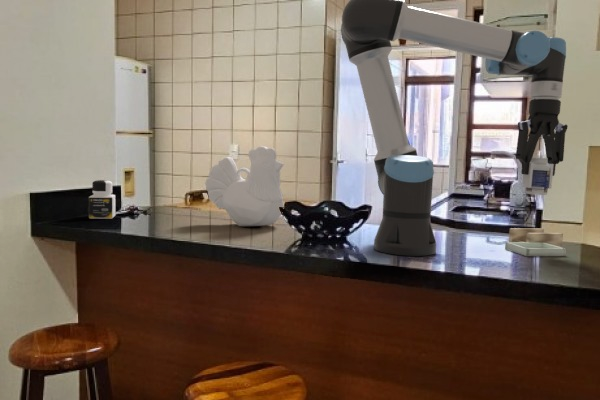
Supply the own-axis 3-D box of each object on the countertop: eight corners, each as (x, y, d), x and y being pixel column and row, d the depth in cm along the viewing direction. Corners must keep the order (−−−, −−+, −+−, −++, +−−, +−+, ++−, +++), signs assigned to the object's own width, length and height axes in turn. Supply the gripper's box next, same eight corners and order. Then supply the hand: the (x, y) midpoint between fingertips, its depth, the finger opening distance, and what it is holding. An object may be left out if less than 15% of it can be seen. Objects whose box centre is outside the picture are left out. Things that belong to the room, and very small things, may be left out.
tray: (525, 256, 129) (526, 248, 129) (504, 249, 138) (505, 242, 137) (565, 255, 131) (566, 248, 131) (542, 248, 140) (543, 242, 140)
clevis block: (528, 248, 140) (529, 233, 140) (508, 242, 149) (509, 228, 149) (561, 248, 142) (563, 233, 142) (540, 242, 151) (541, 228, 150)
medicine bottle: (88, 218, 167) (88, 180, 166) (92, 215, 174) (92, 179, 173) (112, 218, 168) (112, 181, 167) (115, 216, 175) (115, 180, 174)
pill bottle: (549, 195, 137) (553, 158, 136) (528, 194, 138) (531, 157, 137) (543, 194, 143) (547, 158, 142) (522, 192, 143) (526, 157, 142)
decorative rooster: (291, 226, 166) (294, 147, 164) (266, 232, 152) (269, 145, 150) (226, 218, 178) (228, 145, 175) (197, 224, 163) (198, 143, 161)
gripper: (523, 95, 132) (515, 187, 134) (585, 100, 136) (576, 190, 139) (505, 98, 139) (497, 185, 142) (565, 103, 144) (556, 187, 146)
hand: (536, 187), depth 140 cm, fingers closed on pill bottle, 5 cm apart
